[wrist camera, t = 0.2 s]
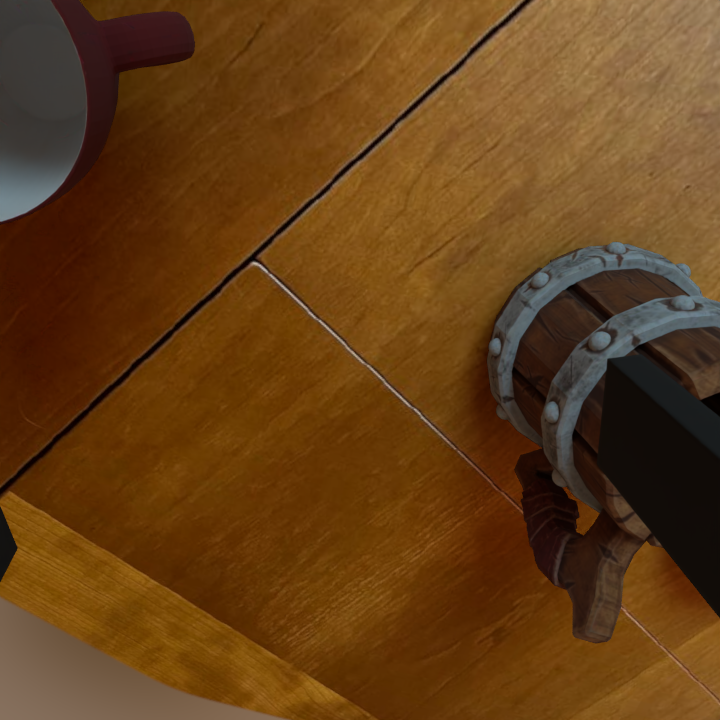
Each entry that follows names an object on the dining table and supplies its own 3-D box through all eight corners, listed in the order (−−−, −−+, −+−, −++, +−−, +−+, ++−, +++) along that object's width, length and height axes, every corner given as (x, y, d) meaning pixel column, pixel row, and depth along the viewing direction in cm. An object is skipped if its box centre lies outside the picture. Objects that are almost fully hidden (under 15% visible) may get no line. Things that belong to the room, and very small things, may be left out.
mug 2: (744, 280, 34) (983, 482, 22) (573, 456, 41) (679, 687, 28) (575, 178, 30) (745, 350, 18) (418, 390, 37) (464, 620, 25)
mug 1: (149, -100, 24) (77, -194, 15) (237, 114, 28) (222, 141, 19) (-104, 4, 24) (-321, -28, 15) (15, 201, 28) (-104, 269, 19)
